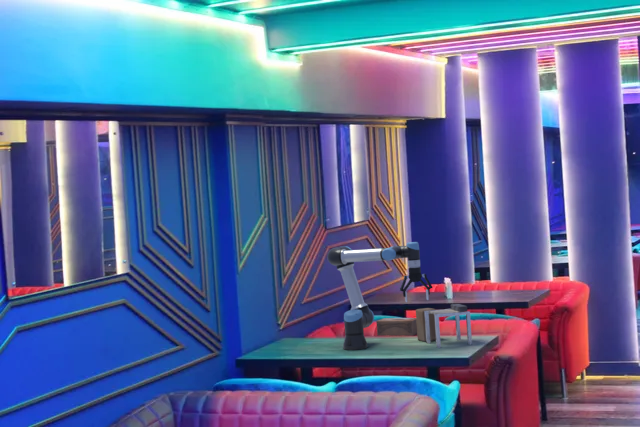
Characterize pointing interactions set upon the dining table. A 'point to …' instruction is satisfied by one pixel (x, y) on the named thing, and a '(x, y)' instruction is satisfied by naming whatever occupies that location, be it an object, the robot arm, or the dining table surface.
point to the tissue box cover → (396, 327)
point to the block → (421, 324)
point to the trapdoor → (453, 309)
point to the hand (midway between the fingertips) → (417, 301)
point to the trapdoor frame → (456, 326)
